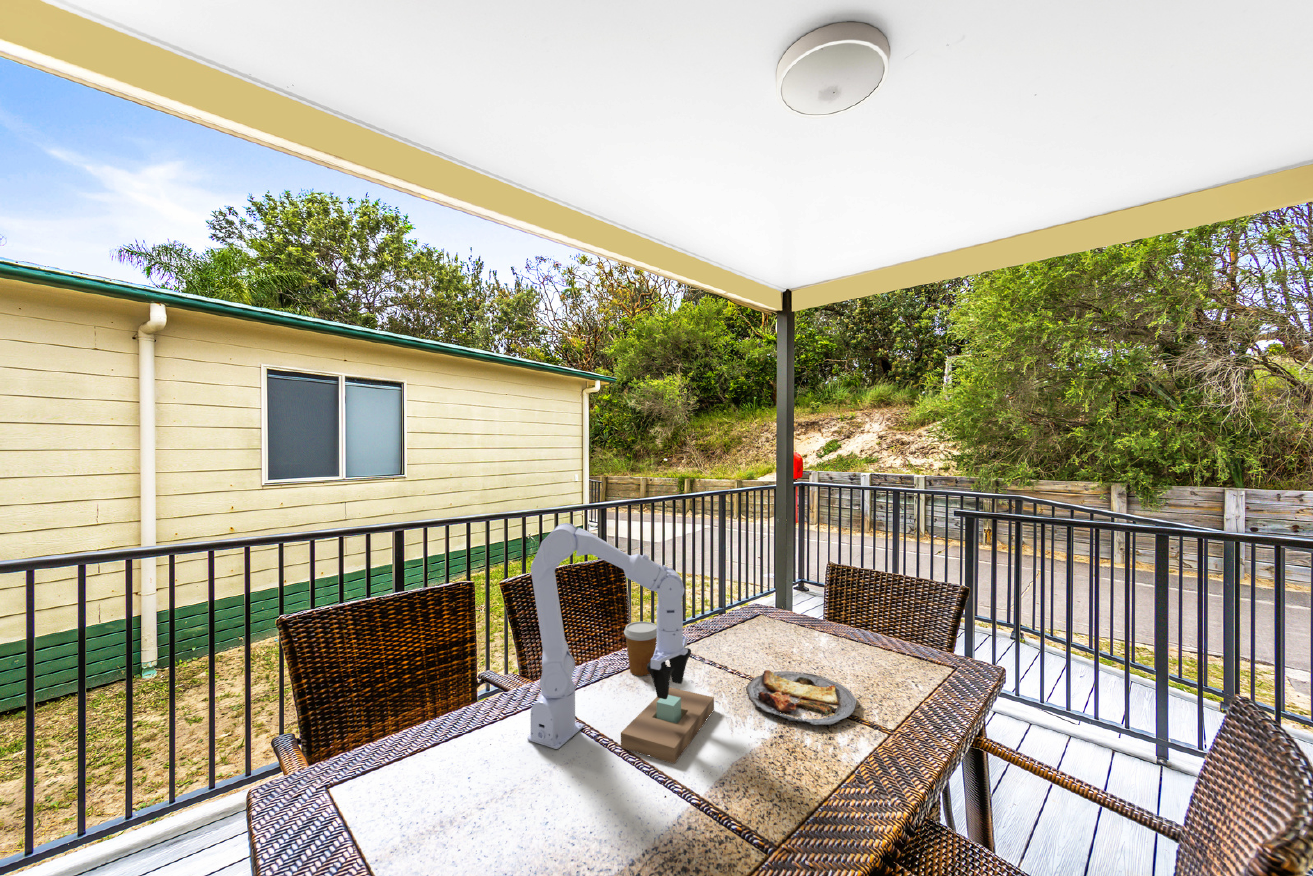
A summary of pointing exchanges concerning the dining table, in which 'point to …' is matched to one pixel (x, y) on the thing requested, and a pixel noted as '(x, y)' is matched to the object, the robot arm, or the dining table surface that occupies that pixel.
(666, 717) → the teal block
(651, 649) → the disposable coffee cup
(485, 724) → the dining table surface
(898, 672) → the dining table surface
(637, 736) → the well board
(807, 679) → the food plate
